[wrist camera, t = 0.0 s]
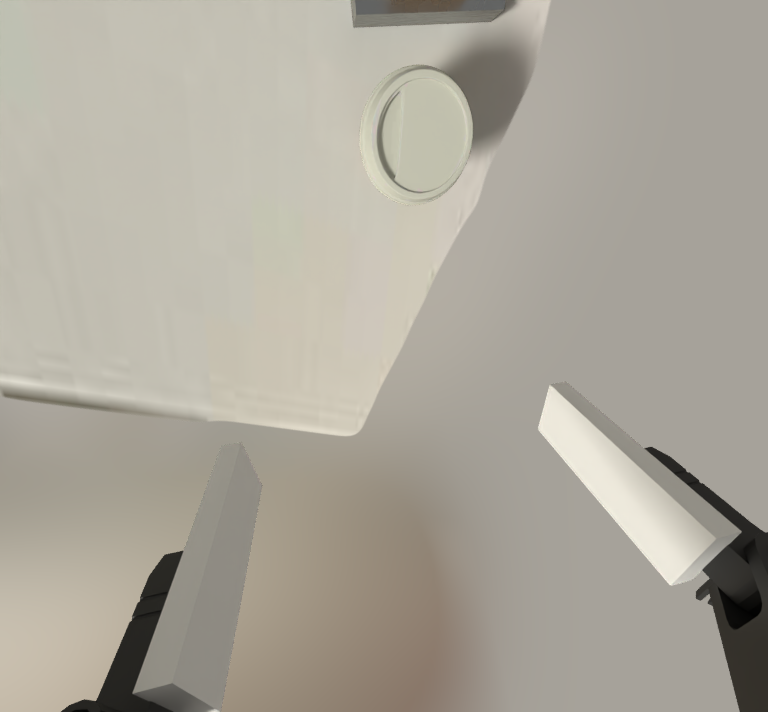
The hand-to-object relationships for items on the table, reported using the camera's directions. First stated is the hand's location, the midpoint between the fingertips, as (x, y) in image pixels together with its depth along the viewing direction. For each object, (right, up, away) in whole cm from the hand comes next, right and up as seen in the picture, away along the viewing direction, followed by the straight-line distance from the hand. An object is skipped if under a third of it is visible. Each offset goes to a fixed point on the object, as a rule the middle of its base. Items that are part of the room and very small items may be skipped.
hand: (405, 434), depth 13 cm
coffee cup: (0, +25, +18) cm, 31 cm away
